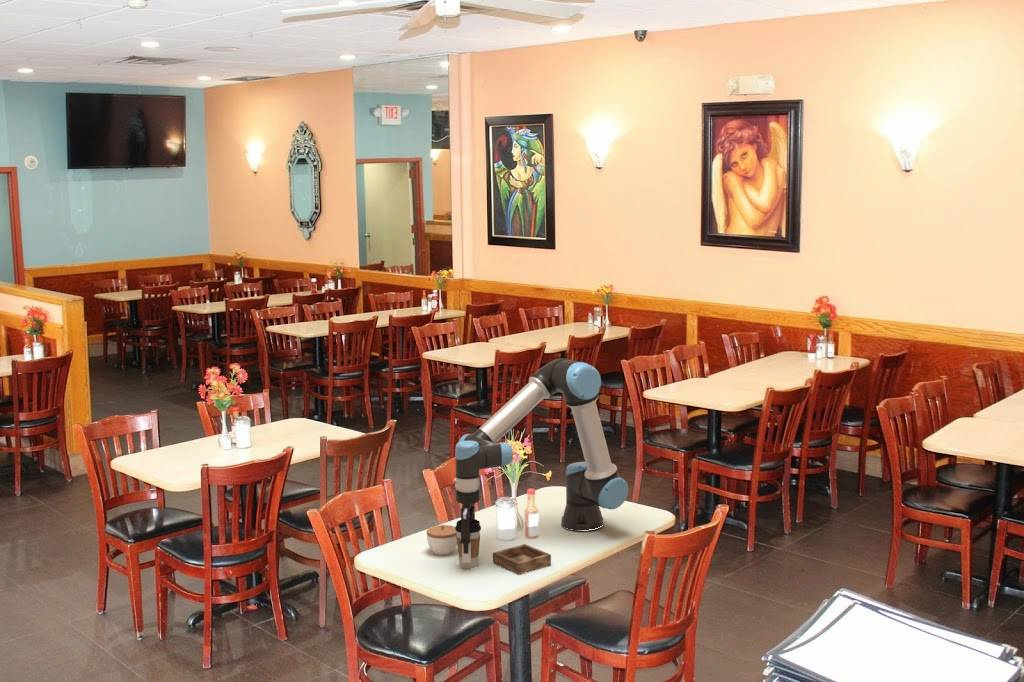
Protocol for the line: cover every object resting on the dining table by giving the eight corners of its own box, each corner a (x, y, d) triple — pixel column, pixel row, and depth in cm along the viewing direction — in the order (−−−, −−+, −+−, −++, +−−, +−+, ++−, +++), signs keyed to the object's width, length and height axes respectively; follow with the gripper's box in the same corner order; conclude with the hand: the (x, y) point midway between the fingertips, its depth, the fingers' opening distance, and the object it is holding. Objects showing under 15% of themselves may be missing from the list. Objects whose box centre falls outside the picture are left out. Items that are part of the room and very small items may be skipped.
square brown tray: (524, 554, 350) (524, 543, 350) (550, 565, 340) (550, 554, 339) (492, 563, 342) (492, 552, 342) (518, 574, 332) (518, 563, 331)
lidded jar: (457, 557, 348) (456, 530, 346) (425, 557, 348) (424, 530, 347) (460, 546, 358) (460, 520, 357) (429, 546, 359) (428, 520, 358)
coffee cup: (459, 571, 335) (458, 526, 333) (453, 562, 343) (452, 518, 341) (484, 568, 337) (484, 523, 335) (478, 559, 345) (477, 515, 343)
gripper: (461, 480, 347) (462, 546, 350) (450, 498, 327) (451, 568, 330) (483, 480, 346) (484, 547, 350) (474, 499, 326) (475, 569, 329)
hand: (468, 557), depth 340 cm, fingers closed on coffee cup, 8 cm apart
